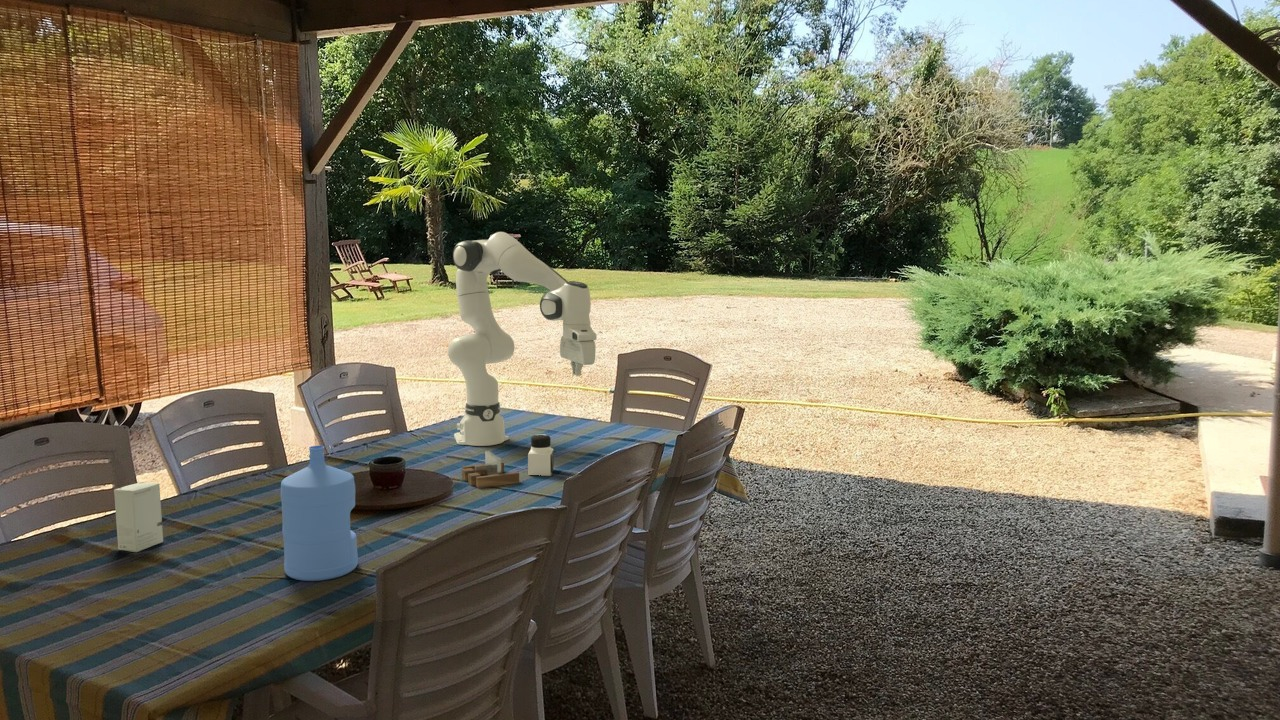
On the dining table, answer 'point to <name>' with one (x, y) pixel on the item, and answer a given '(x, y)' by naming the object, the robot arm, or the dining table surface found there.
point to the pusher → (490, 464)
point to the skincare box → (138, 516)
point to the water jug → (318, 521)
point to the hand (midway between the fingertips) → (576, 375)
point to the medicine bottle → (541, 456)
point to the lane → (487, 477)
